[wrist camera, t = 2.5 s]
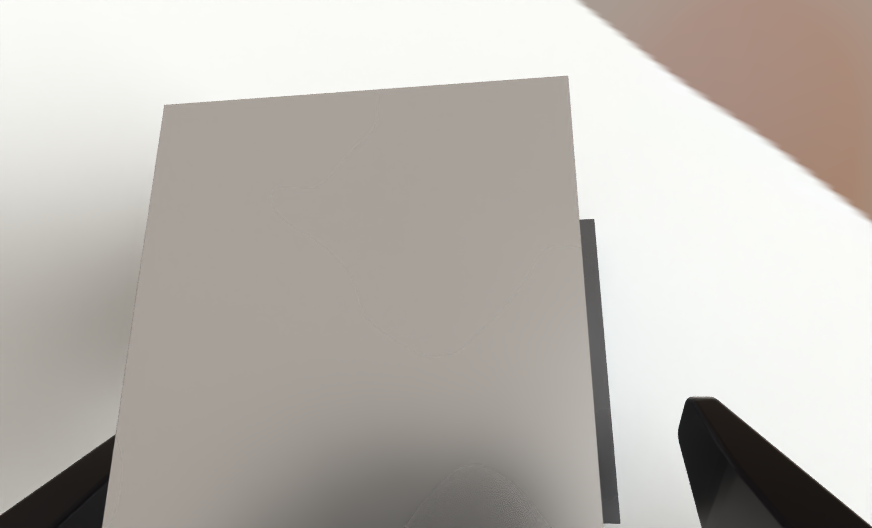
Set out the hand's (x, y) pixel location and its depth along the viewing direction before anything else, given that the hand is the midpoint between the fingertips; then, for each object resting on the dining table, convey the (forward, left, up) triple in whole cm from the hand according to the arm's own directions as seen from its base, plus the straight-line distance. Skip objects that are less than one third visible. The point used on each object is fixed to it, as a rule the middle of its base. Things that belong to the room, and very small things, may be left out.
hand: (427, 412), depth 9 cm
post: (+1, +1, -8) cm, 8 cm away
